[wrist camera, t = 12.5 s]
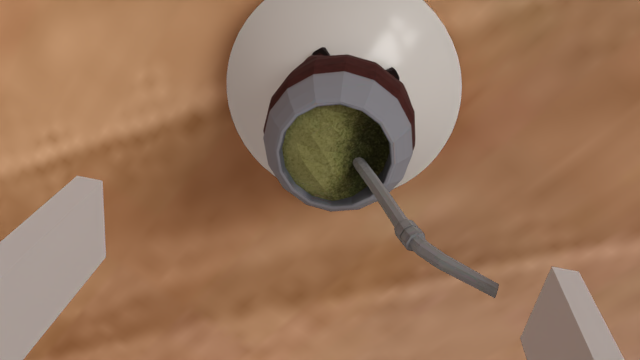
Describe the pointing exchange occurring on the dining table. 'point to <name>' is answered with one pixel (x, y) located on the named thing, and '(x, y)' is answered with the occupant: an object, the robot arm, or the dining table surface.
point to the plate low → (353, 39)
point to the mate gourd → (350, 145)
